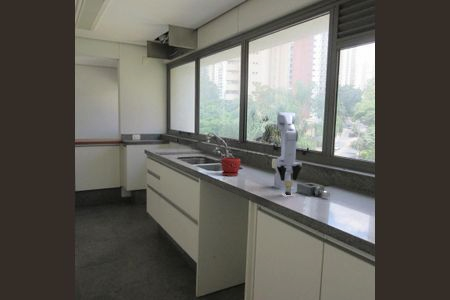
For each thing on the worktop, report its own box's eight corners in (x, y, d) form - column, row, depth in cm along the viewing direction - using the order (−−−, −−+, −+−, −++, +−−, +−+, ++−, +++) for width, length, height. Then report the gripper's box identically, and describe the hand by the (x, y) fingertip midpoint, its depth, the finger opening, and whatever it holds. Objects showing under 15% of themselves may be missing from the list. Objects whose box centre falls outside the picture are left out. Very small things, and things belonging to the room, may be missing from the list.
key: (284, 194, 166) (284, 181, 166) (288, 194, 167) (289, 180, 167) (287, 195, 164) (287, 182, 163) (291, 195, 165) (292, 181, 164)
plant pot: (237, 177, 214) (237, 159, 213) (218, 175, 218) (219, 158, 217) (242, 174, 227) (242, 157, 226) (224, 173, 231) (225, 156, 230)
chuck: (296, 192, 173) (297, 183, 173) (311, 191, 177) (311, 182, 177) (320, 200, 157) (320, 190, 156) (335, 199, 161) (335, 189, 161)
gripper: (283, 155, 157) (281, 182, 158) (306, 154, 163) (304, 180, 164) (274, 153, 163) (273, 179, 164) (297, 153, 169) (296, 178, 171)
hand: (288, 180), depth 165 cm, fingers open, 7 cm apart
